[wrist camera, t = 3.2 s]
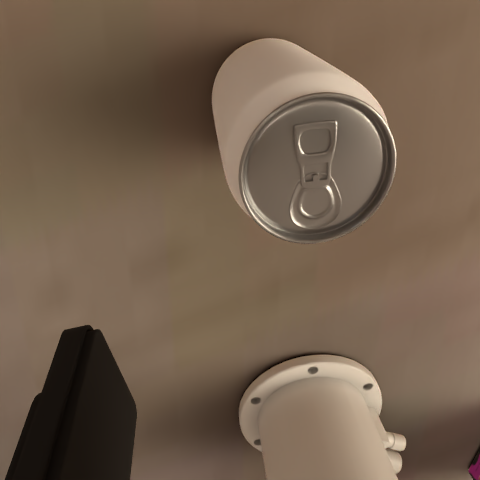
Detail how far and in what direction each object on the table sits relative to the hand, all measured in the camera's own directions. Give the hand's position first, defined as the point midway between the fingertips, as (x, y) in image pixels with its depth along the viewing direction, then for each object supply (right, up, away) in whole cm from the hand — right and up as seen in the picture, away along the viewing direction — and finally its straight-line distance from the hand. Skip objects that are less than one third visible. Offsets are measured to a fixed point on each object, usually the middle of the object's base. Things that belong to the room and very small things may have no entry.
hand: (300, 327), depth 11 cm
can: (0, +10, +15) cm, 19 cm away
